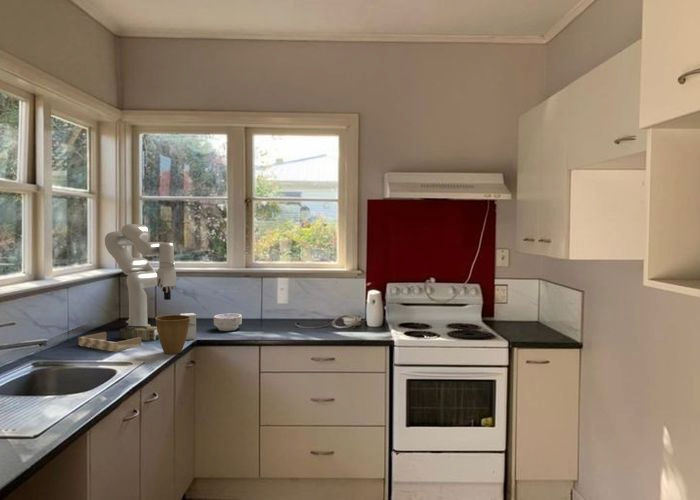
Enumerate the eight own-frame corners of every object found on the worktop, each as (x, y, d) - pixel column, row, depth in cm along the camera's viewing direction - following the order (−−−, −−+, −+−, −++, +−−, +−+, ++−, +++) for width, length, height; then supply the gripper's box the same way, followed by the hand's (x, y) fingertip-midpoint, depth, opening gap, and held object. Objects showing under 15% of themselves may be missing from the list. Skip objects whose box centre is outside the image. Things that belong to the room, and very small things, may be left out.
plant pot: (165, 358, 220) (165, 321, 219) (149, 352, 230) (149, 317, 229) (196, 352, 230) (196, 317, 230) (180, 347, 241) (180, 313, 240)
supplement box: (181, 340, 254) (181, 315, 254) (179, 337, 261) (178, 313, 260) (196, 339, 258) (196, 314, 257) (193, 336, 264) (193, 312, 264)
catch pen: (78, 345, 243) (78, 337, 243) (105, 339, 256) (104, 332, 256) (115, 351, 231) (115, 343, 231) (141, 345, 243) (141, 337, 243)
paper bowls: (228, 333, 273) (228, 318, 272) (207, 330, 280) (207, 316, 280) (247, 328, 286) (247, 314, 286) (227, 326, 293) (227, 312, 293)
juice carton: (165, 336, 264) (165, 325, 264) (156, 341, 254) (156, 329, 254) (129, 336, 266) (128, 324, 266) (118, 340, 256) (118, 328, 256)
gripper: (172, 264, 281) (173, 297, 282) (150, 266, 268) (151, 300, 269) (182, 264, 278) (182, 298, 278) (160, 266, 264) (161, 301, 265)
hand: (167, 299), depth 273 cm, fingers closed
